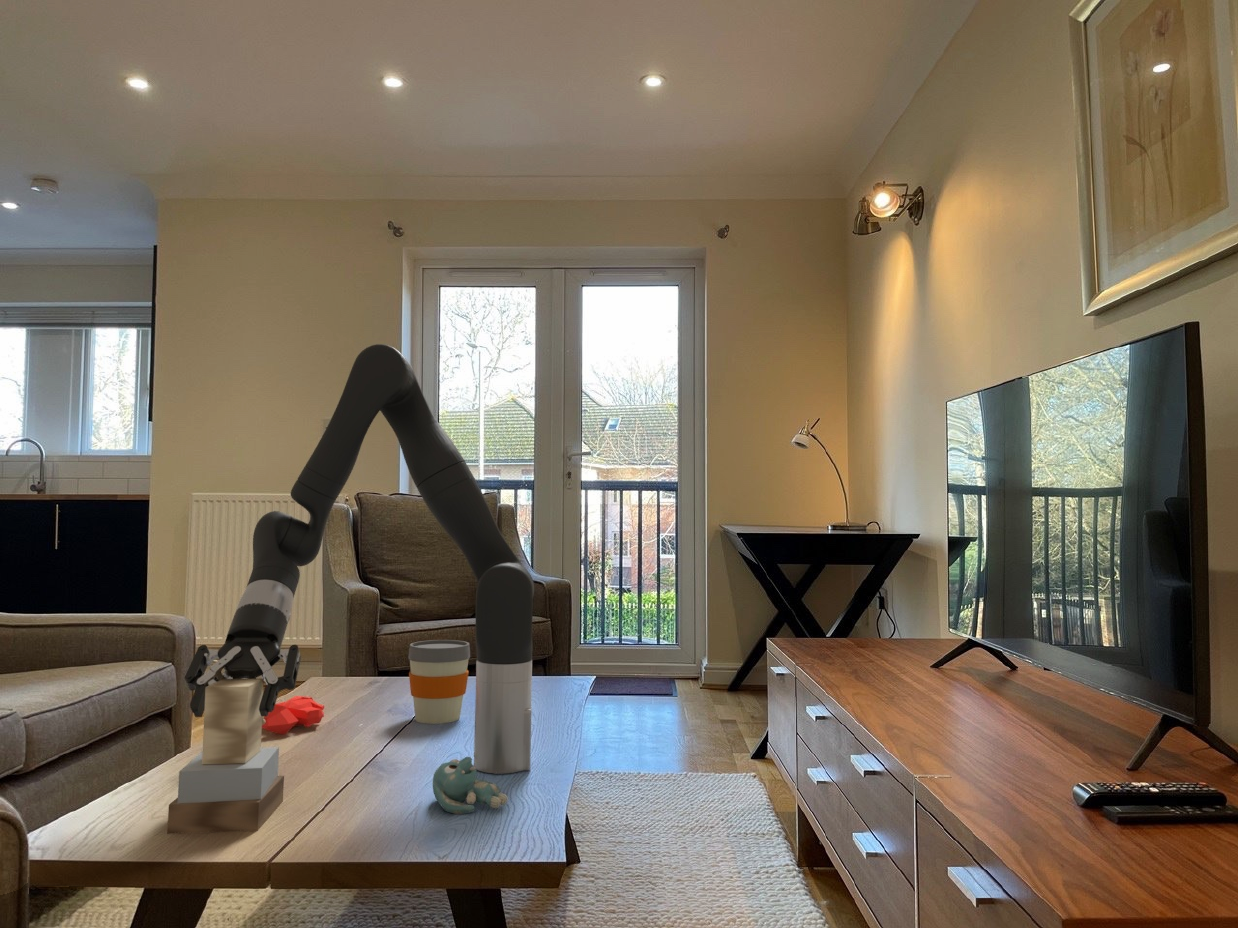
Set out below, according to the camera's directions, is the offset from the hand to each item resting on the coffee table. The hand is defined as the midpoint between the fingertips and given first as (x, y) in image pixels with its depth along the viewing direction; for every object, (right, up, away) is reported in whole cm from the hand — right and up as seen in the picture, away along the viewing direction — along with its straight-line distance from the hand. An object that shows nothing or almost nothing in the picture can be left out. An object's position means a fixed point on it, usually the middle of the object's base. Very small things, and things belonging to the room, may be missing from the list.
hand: (230, 713), depth 108 cm
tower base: (0, -14, 0) cm, 14 cm away
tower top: (0, -10, +1) cm, 10 cm away
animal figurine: (-11, -18, +46) cm, 51 cm away
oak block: (0, -6, +1) cm, 6 cm away
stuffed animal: (+31, -15, +6) cm, 35 cm away
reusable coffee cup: (+15, -19, +56) cm, 61 cm away
